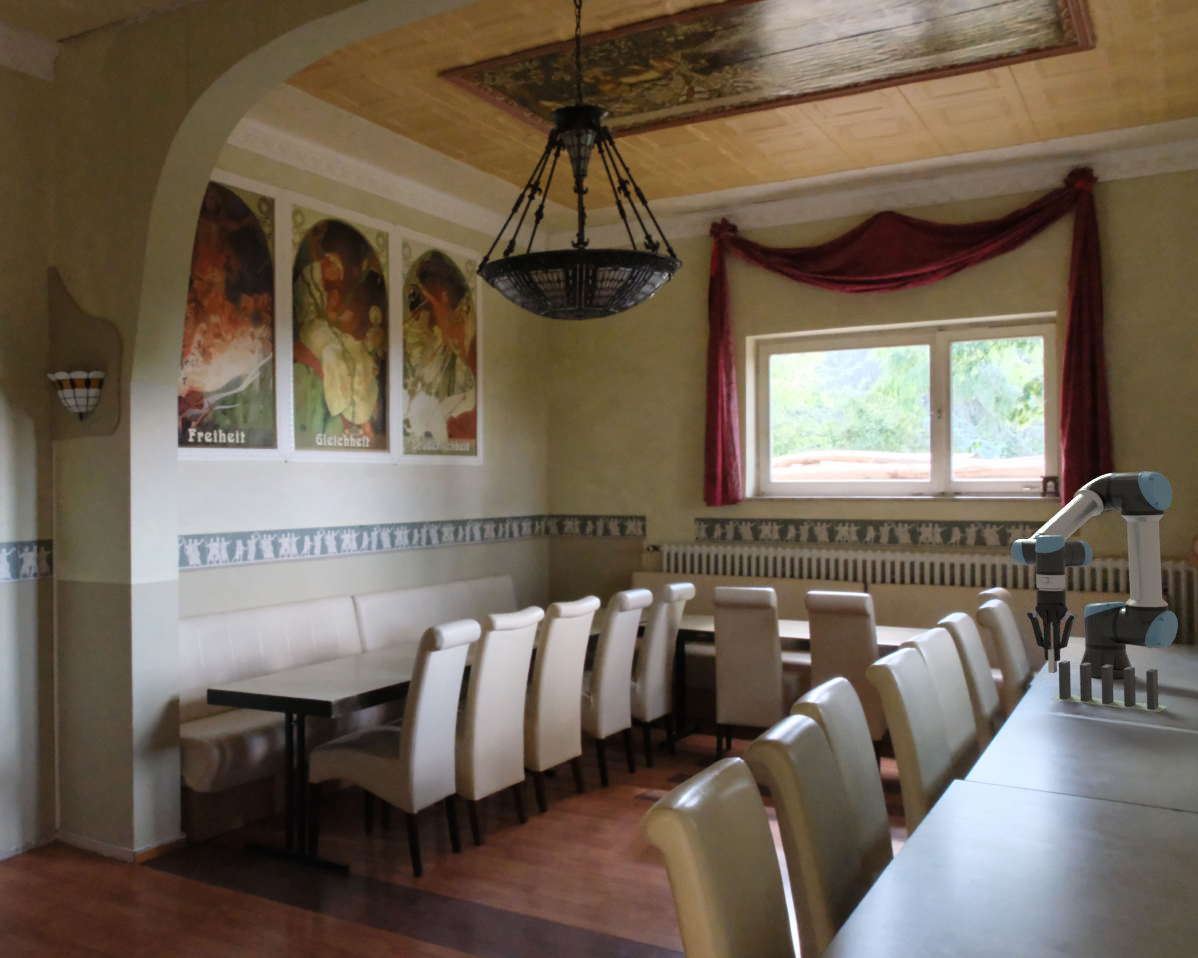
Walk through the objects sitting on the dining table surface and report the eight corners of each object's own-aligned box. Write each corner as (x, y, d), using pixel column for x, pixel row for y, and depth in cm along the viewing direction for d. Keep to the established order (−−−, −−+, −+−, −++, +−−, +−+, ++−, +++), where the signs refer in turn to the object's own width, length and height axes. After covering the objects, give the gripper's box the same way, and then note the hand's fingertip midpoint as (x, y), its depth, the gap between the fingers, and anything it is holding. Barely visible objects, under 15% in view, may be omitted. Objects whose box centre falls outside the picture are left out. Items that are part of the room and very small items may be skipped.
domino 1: (1064, 695, 277) (1064, 660, 277) (1070, 696, 276) (1070, 660, 276) (1059, 698, 274) (1058, 662, 274) (1065, 699, 272) (1064, 663, 273)
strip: (1060, 695, 280) (1060, 693, 280) (1167, 708, 262) (1167, 706, 262) (1051, 700, 273) (1050, 698, 273) (1159, 714, 255) (1159, 711, 255)
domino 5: (1151, 705, 263) (1150, 668, 263) (1158, 706, 262) (1157, 669, 262) (1147, 708, 259) (1146, 671, 259) (1153, 709, 258) (1153, 671, 258)
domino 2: (1085, 697, 274) (1084, 662, 274) (1091, 698, 273) (1091, 662, 273) (1080, 700, 270) (1079, 664, 270) (1086, 701, 269) (1085, 665, 269)
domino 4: (1129, 702, 266) (1128, 666, 267) (1135, 703, 265) (1134, 667, 266) (1124, 706, 263) (1123, 669, 263) (1130, 706, 262) (1130, 669, 262)
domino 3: (1107, 700, 270) (1106, 664, 270) (1113, 701, 269) (1112, 664, 269) (1102, 703, 266) (1101, 666, 266) (1108, 704, 265) (1107, 667, 265)
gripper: (1022, 589, 279) (1024, 671, 279) (1071, 591, 270) (1073, 676, 270) (1031, 587, 285) (1033, 667, 284) (1079, 589, 276) (1081, 672, 276)
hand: (1052, 671), depth 277 cm, fingers closed
